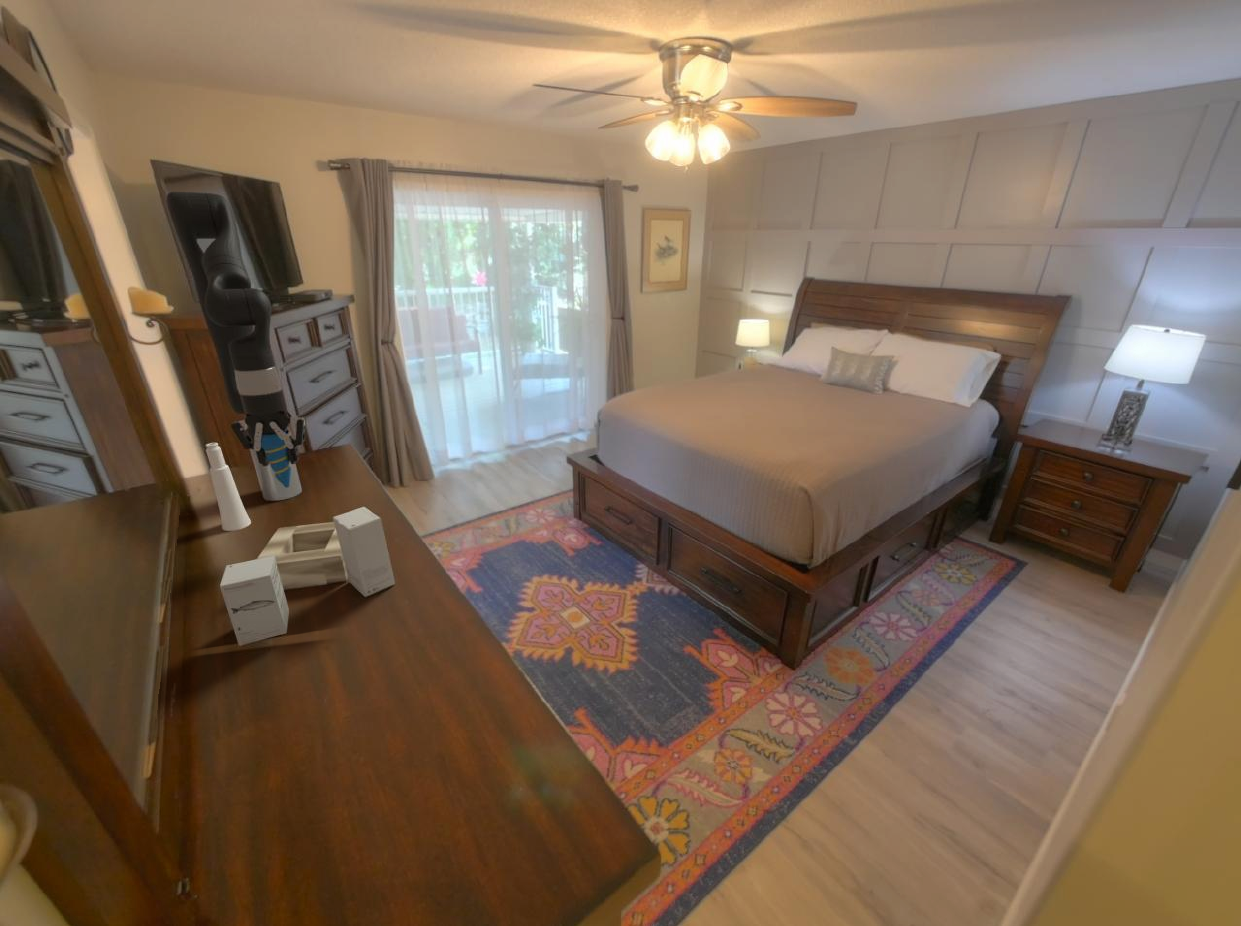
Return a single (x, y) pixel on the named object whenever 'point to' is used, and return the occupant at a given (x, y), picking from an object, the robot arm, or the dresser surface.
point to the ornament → (277, 457)
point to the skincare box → (364, 550)
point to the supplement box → (255, 599)
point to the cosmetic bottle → (226, 491)
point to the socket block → (307, 555)
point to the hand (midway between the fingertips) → (280, 463)
